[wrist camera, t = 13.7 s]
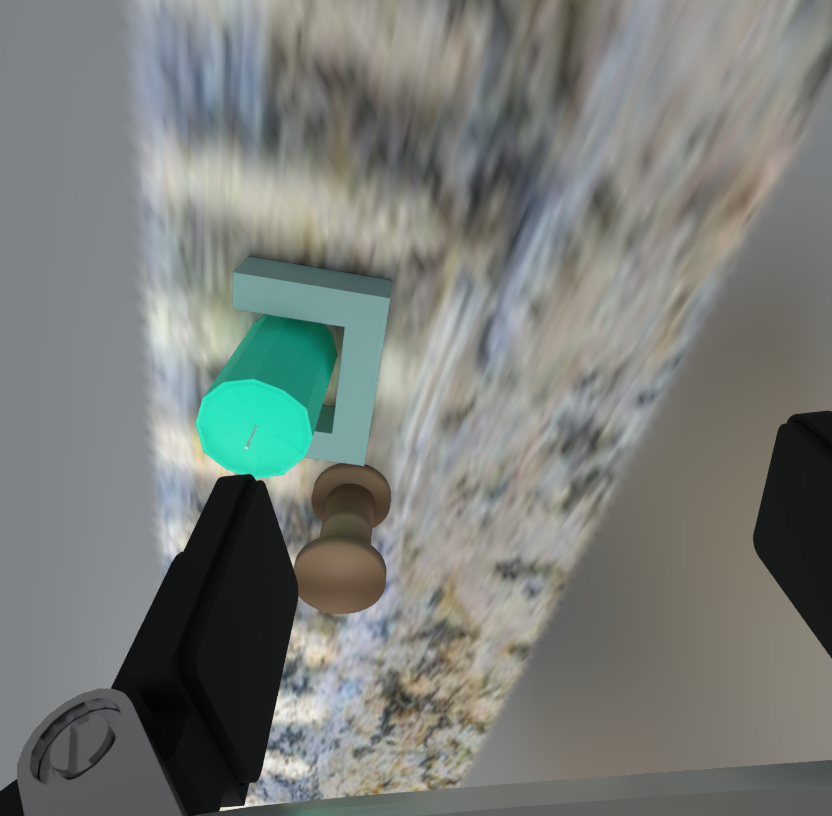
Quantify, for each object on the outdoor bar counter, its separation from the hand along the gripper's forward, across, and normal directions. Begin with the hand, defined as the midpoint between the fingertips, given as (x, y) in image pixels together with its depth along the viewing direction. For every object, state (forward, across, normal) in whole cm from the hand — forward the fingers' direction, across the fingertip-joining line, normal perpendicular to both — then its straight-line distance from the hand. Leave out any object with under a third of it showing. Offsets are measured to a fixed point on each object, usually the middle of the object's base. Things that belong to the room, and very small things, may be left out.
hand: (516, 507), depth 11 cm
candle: (+27, +11, +8) cm, 30 cm away
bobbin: (+27, +9, +20) cm, 35 cm away
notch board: (+27, +10, +8) cm, 30 cm away
